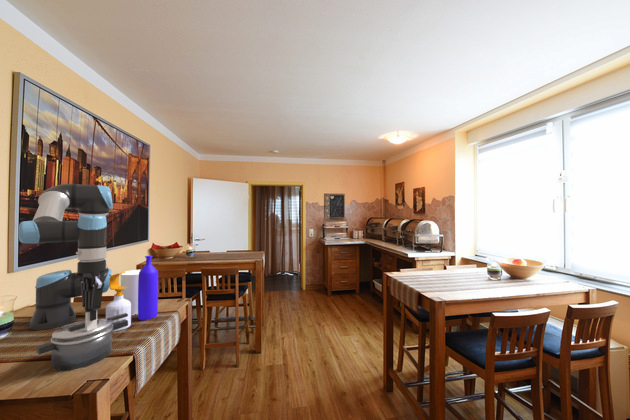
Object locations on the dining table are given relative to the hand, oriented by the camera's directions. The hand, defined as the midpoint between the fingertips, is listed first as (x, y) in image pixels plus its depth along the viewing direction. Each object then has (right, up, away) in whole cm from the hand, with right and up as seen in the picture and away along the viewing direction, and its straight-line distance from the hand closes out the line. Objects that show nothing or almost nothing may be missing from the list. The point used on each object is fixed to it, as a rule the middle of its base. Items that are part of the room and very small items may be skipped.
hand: (91, 329), depth 90 cm
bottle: (-5, -12, +39) cm, 41 cm away
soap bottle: (-11, -12, +27) cm, 31 cm away
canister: (-17, -12, +48) cm, 52 cm away
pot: (-5, -11, +4) cm, 13 cm away
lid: (-4, -2, +6) cm, 7 cm away
